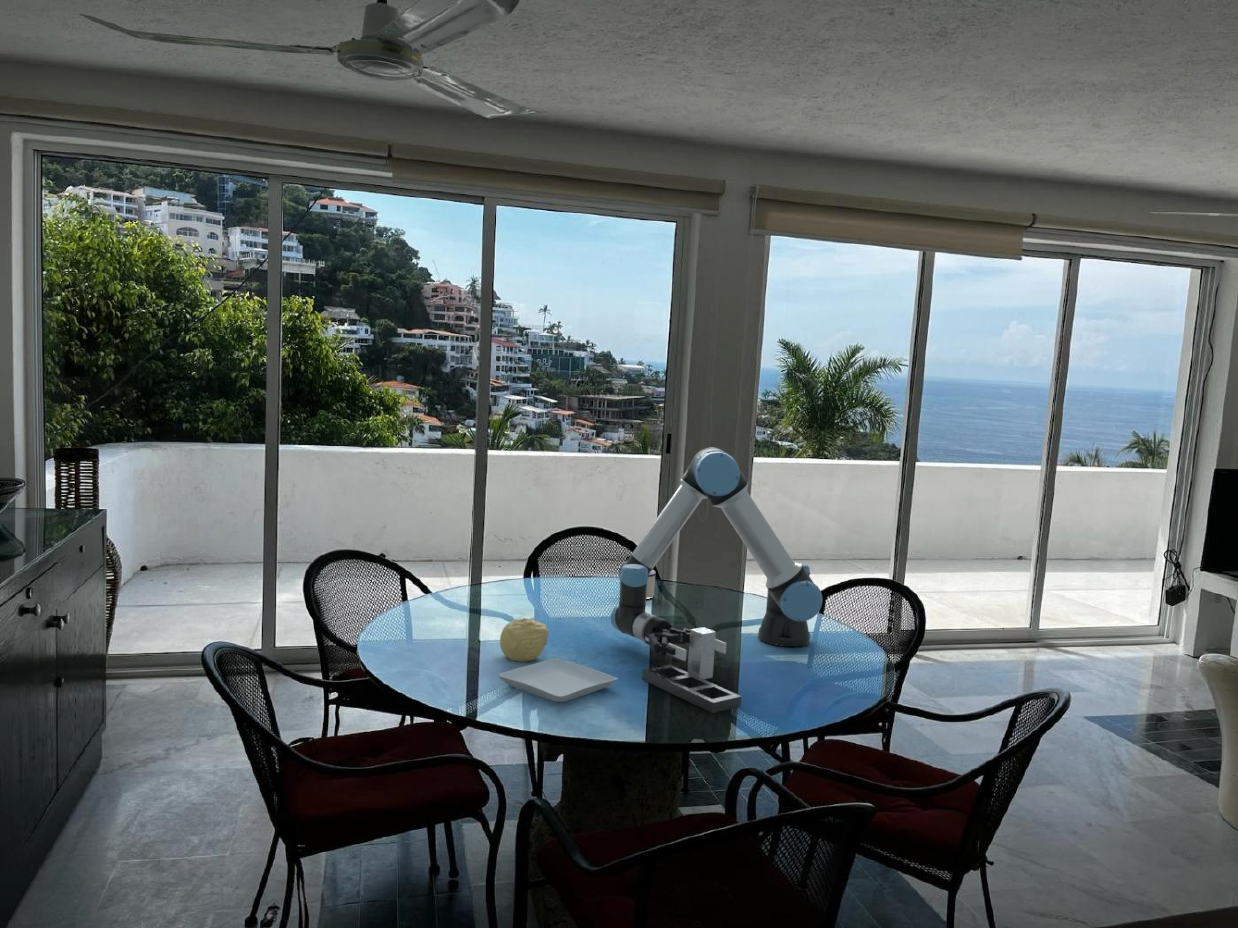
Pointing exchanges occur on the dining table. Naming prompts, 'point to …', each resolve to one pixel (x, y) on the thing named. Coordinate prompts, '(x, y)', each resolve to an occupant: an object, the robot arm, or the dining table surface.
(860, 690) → the dining table surface
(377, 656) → the dining table surface
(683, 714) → the dining table surface
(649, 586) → the teacup with lid
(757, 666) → the dining table surface
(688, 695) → the rack rail
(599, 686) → the salad plate
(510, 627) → the yellow round lump
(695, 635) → the grey upright post
